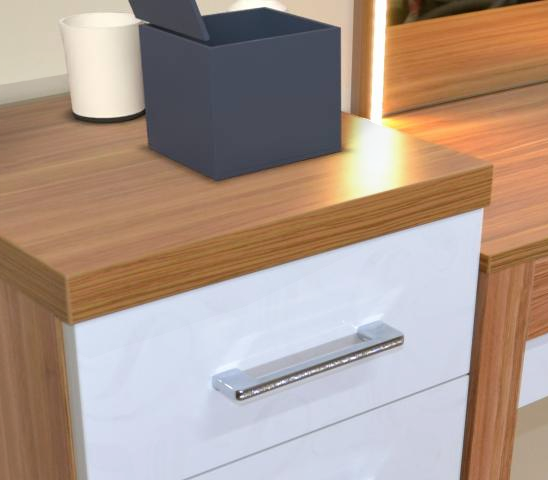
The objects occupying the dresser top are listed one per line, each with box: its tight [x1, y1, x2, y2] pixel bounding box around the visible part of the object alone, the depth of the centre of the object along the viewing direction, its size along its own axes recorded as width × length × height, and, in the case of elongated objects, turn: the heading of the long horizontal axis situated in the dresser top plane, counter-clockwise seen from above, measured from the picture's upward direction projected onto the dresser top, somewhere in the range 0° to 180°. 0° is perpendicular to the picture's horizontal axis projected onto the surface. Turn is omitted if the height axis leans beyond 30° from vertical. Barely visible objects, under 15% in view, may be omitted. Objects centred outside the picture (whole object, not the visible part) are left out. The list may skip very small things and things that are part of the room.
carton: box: [138, 7, 342, 182], centre depth 115 cm, size 15×13×12 cm
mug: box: [58, 11, 149, 124], centre depth 127 cm, size 11×9×10 cm
